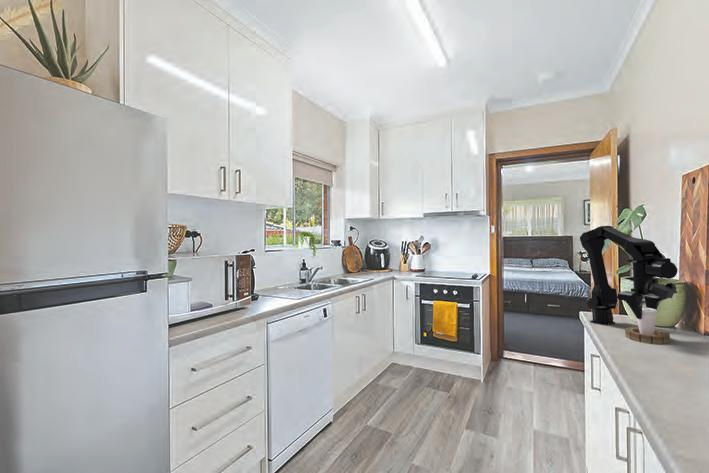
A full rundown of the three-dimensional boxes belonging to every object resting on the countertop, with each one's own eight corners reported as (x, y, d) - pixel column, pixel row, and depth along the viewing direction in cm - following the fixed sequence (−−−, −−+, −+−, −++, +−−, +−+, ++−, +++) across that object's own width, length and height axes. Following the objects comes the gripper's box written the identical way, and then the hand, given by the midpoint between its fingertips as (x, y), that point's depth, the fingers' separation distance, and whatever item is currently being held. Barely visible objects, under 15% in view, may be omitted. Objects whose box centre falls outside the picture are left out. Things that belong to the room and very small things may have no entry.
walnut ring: (617, 336, 125) (617, 329, 125) (640, 331, 128) (640, 325, 128) (654, 345, 113) (653, 338, 113) (678, 340, 116) (678, 333, 116)
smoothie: (631, 335, 122) (629, 297, 122) (641, 332, 125) (638, 295, 125) (653, 339, 116) (650, 300, 116) (662, 336, 119) (660, 297, 119)
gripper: (649, 280, 110) (652, 326, 110) (688, 275, 115) (690, 319, 115) (615, 276, 121) (617, 319, 121) (651, 272, 126) (654, 313, 126)
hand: (645, 317), depth 121 cm, fingers closed on smoothie, 6 cm apart
